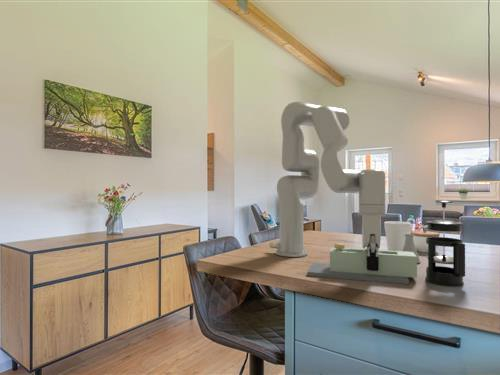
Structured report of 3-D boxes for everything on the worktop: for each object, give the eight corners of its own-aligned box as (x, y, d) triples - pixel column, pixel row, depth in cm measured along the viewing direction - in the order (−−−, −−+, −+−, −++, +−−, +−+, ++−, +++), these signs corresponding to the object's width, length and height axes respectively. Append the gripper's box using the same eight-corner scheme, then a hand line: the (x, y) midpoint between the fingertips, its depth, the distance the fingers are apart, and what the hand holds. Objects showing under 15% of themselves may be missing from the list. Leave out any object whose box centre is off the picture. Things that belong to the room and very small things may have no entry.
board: (307, 275, 100) (307, 246, 100) (313, 266, 112) (313, 239, 112) (409, 284, 91) (409, 251, 91) (403, 272, 104) (403, 243, 104)
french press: (416, 277, 98) (416, 200, 98) (443, 275, 100) (443, 199, 100) (447, 289, 87) (447, 201, 87) (477, 287, 88) (477, 201, 88)
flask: (423, 264, 115) (423, 235, 115) (401, 263, 116) (401, 235, 116) (417, 260, 122) (417, 232, 122) (396, 259, 123) (396, 232, 123)
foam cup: (414, 255, 129) (414, 222, 129) (406, 259, 123) (406, 224, 123) (389, 252, 136) (389, 220, 136) (380, 255, 129) (380, 222, 129)
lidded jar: (445, 253, 133) (445, 230, 133) (418, 253, 134) (418, 230, 134) (430, 248, 144) (430, 227, 144) (406, 248, 144) (406, 227, 144)
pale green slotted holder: (329, 271, 101) (329, 251, 101) (331, 265, 108) (331, 247, 108) (416, 277, 93) (416, 256, 93) (413, 271, 100) (413, 251, 100)
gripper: (359, 208, 110) (359, 259, 110) (358, 211, 93) (359, 272, 93) (383, 208, 107) (383, 261, 107) (387, 212, 91) (387, 274, 91)
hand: (372, 266), depth 100 cm, fingers open, 9 cm apart
